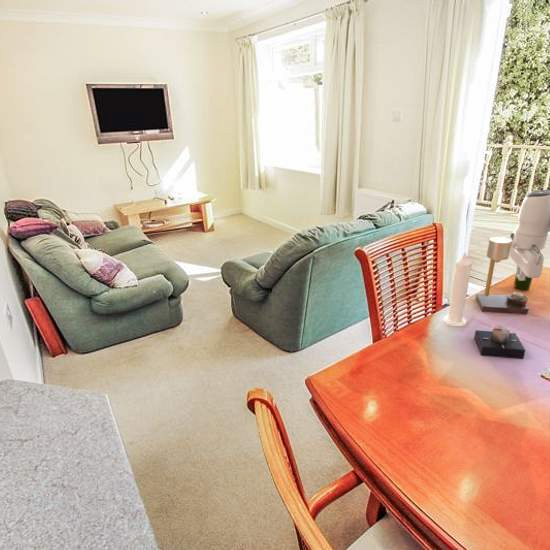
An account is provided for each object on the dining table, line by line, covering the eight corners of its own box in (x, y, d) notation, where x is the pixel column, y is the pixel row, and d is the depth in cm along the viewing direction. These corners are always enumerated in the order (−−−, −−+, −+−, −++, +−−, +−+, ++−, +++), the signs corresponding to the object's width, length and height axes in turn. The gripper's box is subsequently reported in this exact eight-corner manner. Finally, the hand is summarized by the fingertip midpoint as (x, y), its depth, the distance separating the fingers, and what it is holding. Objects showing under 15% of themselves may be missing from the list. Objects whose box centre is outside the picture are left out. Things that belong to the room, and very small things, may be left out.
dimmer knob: (503, 335, 112) (505, 324, 111) (510, 343, 108) (513, 332, 107) (488, 335, 113) (490, 324, 111) (495, 343, 109) (497, 332, 107)
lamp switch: (520, 296, 132) (521, 291, 131) (523, 300, 129) (524, 295, 128) (511, 295, 133) (512, 291, 132) (513, 299, 130) (514, 295, 129)
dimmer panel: (513, 341, 114) (515, 332, 113) (523, 359, 106) (525, 349, 105) (474, 338, 117) (475, 329, 116) (480, 355, 109) (482, 346, 108)
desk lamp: (497, 292, 135) (508, 236, 126) (502, 300, 129) (514, 243, 121) (478, 291, 137) (487, 236, 128) (482, 299, 131) (492, 242, 122)
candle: (455, 329, 122) (466, 258, 112) (438, 319, 128) (447, 251, 118) (471, 323, 125) (483, 253, 115) (454, 314, 131) (463, 247, 121)
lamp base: (520, 301, 136) (522, 291, 134) (529, 314, 127) (532, 304, 126) (475, 298, 140) (477, 289, 138) (481, 312, 131) (483, 301, 129)
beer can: (528, 287, 145) (534, 258, 140) (530, 293, 141) (537, 263, 136) (512, 285, 147) (518, 257, 142) (513, 291, 143) (519, 262, 138)
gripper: (553, 252, 113) (542, 293, 118) (529, 231, 130) (520, 267, 136) (529, 251, 114) (519, 291, 120) (509, 231, 132) (501, 267, 138)
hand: (520, 278), depth 128 cm, fingers closed
